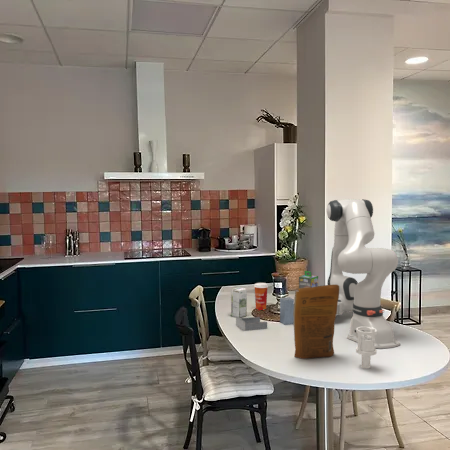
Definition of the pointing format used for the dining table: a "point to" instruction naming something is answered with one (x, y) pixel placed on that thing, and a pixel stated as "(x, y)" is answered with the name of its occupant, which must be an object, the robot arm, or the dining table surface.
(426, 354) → the dining table surface
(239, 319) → the channel bracket
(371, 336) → the white stepped cylinder
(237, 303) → the syrup box
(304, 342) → the pancake mix bag
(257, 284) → the paper cup
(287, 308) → the block
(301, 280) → the chalk box
